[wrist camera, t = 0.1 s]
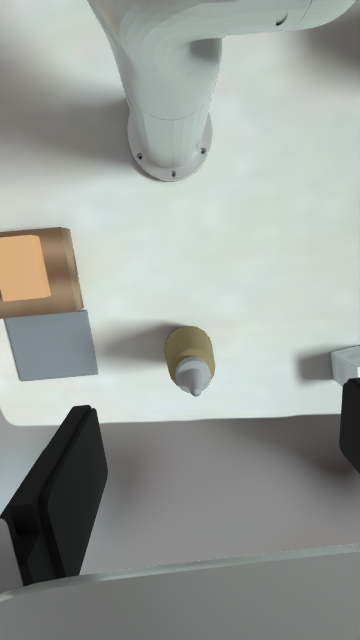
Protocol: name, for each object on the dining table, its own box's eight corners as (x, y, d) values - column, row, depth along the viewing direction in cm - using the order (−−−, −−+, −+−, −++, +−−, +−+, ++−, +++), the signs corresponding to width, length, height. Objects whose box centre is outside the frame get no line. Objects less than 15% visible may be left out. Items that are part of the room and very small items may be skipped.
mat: (6, 317, 45) (4, 318, 45) (87, 310, 46) (85, 310, 45) (22, 379, 48) (21, 381, 48) (98, 372, 49) (97, 374, 48)
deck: (-11, 236, 42) (-27, 234, 39) (69, 229, 42) (60, 227, 39) (9, 314, 45) (-4, 319, 42) (83, 307, 45) (76, 311, 42)
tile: (-2, 239, 39) (-13, 238, 37) (38, 236, 39) (30, 234, 37) (13, 298, 41) (3, 301, 39) (51, 295, 41) (43, 297, 39)
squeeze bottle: (157, 333, 47) (148, 378, 30) (197, 312, 46) (212, 347, 29) (177, 369, 49) (181, 432, 31) (216, 350, 48) (241, 404, 31)
